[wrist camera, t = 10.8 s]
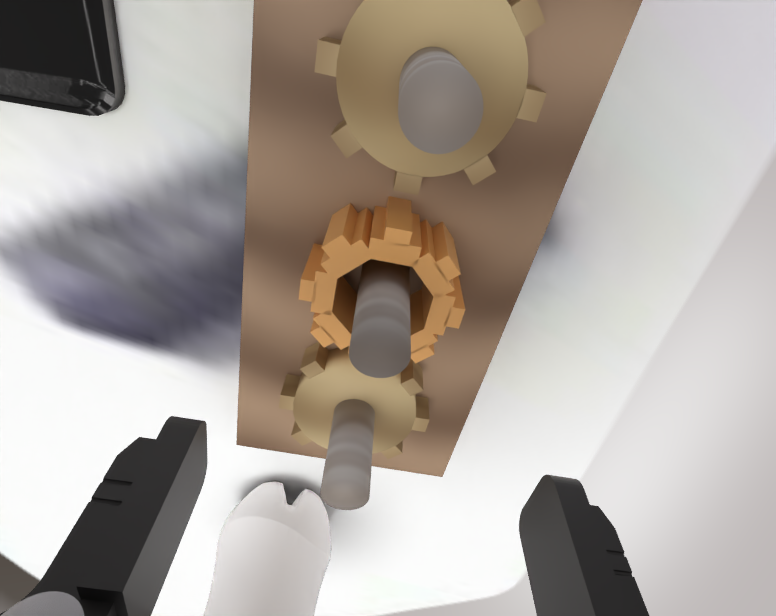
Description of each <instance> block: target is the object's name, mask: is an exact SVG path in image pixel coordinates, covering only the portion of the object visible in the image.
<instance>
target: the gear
mask: <svg viewBox="0 0 776 616" xmlns="http://www.w3.org/2000/svg"><path fill="white" fill-rule="evenodd" d="M370 259H374V260H379V261H385V262H390V263H395V264H400V265H406V266H411V267H413V269H414V270H415V271H416V273H417V274H418V276H419V277H420V278H421V280H422V281H423V286H422V289H421V290H419V291H417V292H415V293H413V294H411V295H410V330H411V359H412V360H413V361H414V362H415V364H416V363H418V362H420V361H422V360H424V359H426V358H428V357H430V356H432V355H434V343H435V342H437V341H438V336H437V335H442V336H443V334H444V331H445V328H446V327H452V328H457V329H459V326H460V324H461V321H462V318H463V315H464V312H465V305H464V300H463V295H462V290H461V285H460V280H459V275H460V274H461V273H460V268H459V263H458V258H457V253H456V249H455V244H454V239H453V237H452V236H451V234H450V233H449V231H448V229H447V228H446V226H445V225H444V223H443V222H441V223H439V224H437V225H435V226H434V227H431V226H430V224H429V223H428V221H427V220H426V219H425V220H423V221H422V222H420V217H419V214H414V213H412V210H411V200H406V199H401V198H396V197H391V196H389V197H388V202H387V207H386V208H384V207H379V206H375V209H374V214H373V215H372V213H371V212H370V210H369V209H368V208H367V207H366V208H365V209H363V210H362V211H360V212H359V213H358V212H357V211H356V210H355V208H354V207H353V206H352V204H351V203H350V204H348V205H347V206H345V207H343V208H342V209H340V210H339V211H337V212H336V213H334V214H333V215H332V217H331V220H330V223H329V227H328V230H327V233H326V236H325V239H324V242H323V245H320V244H313V247H312V250H311V253H310V255H309V258H308V261H307V263H306V266H305V269H304V272H303V274H302V277H301V281H300V290H299V299H298V300H304V301H309V302H312V303H311V311H310V312H315V313H314V316H313V319H314V320H313V323H312V327H311V331H310V333H311V334H312V335H313V336H314V337H315V338H316V339H317V340H318V342H319V343H320V344H321V345H322V346H323V347H326V346H328V345H330V344H332V343H335V344H336V345H337V346H338V347H339V348H340V350H342V349H343V348H345V347H347V346H349V347H350V340H351V334H352V327H353V321H354V315H355V308H356V302H357V293H356V292H355V291H354V290H353V288H352V287H351V286H350V285H349V283H348V282H347V281H346V280H345V279H344V277H343V275H344V274H346V273H348V272H350V271H351V270H353V269H355V268H356V267H358V266H360V265H361V264H363V263H365V262H366V261H368V260H370ZM348 354H349V349H348Z"/></svg>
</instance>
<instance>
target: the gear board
mask: <svg viewBox="0 0 776 616" xmlns="http://www.w3.org/2000/svg"><path fill="white" fill-rule="evenodd" d="M641 3H642V0H254V13H253V39H252V64H251V90H250V115H249V141H248V166H247V192H246V217H245V242H244V268H243V293H242V319H241V344H240V370H239V395H238V420H237V445H241V446H247V447H254V448H260V449H267V450H273V451H279V452H286V453H292V454H299V455H305V456H311V457H318V458H324V459H326V461H325V467H324V473H323V479H322V485H321V491H320V496H321V498H322V500H323V501H324V502H325V503H326V504H327V505H329V506H331V507H333V508H336V509H341V510H353V509H357V508H360V507H362V506H364V505H365V504H366V503H367V502H368V500H369V494H370V479H371V466H376V467H382V468H388V469H395V470H401V471H408V472H414V473H420V474H427V475H433V476H440V477H442V476H443V474H444V471H445V469H446V467H447V464H448V462H449V460H450V457H451V455H452V452H453V450H454V448H455V445H456V443H457V441H458V438H459V436H460V433H461V431H462V429H463V426H464V424H465V421H466V419H467V417H468V414H469V412H470V410H471V407H472V405H473V402H474V400H475V398H476V395H477V393H478V391H479V388H480V386H481V383H482V381H483V379H484V376H485V374H486V372H487V369H488V367H489V364H490V362H491V360H492V357H493V355H494V352H495V350H496V348H497V345H498V343H499V341H500V338H501V336H502V333H503V331H504V329H505V326H506V324H507V322H508V319H509V317H510V314H511V312H512V310H513V307H514V305H515V302H516V300H517V298H518V295H519V293H520V291H521V288H522V286H523V283H524V281H525V279H526V276H527V274H528V272H529V269H530V267H531V264H532V262H533V260H534V257H535V255H536V253H537V250H538V248H539V245H540V243H541V241H542V238H543V236H544V233H545V231H546V229H547V226H548V224H549V222H550V219H551V217H552V214H553V212H554V210H555V207H556V205H557V203H558V200H559V198H560V195H561V193H562V191H563V188H564V186H565V184H566V181H567V179H568V176H569V174H570V172H571V169H572V167H573V164H574V162H575V160H576V157H577V155H578V153H579V150H580V148H581V145H582V143H583V141H584V138H585V136H586V134H587V131H588V129H589V126H590V124H591V122H592V119H593V117H594V115H595V112H596V110H597V107H598V105H599V103H600V100H601V98H602V95H603V93H604V91H605V88H606V86H607V84H608V81H609V79H610V76H611V74H612V72H613V69H614V67H615V65H616V62H617V60H618V57H619V55H620V53H621V50H622V48H623V45H624V43H625V41H626V38H627V36H628V34H629V31H630V29H631V26H632V24H633V22H634V19H635V17H636V15H637V12H638V10H639V7H640V5H641ZM389 196H391V197H396V198H401V199H406V200H411V210H412V213H414V214H419V217H420V222H422V221H423V220H425V219H426V220H427V221H428V223H429V224H430V226H431V227H434V226H435V225H437V224H439V223H441V222H443V223H444V225H445V226H446V228H447V229H448V231H449V233H450V234H451V236H452V237H453V239H454V244H455V249H456V253H457V258H458V263H459V268H460V273H461V274H460V275H459V280H460V285H461V290H462V295H463V300H464V305H465V312H464V315H463V318H462V321H461V324H460V326H459V329H457V328H452V327H446V328H445V331H444V334H443V336H442V335H437V336H438V341H437V342H435V343H434V355H432V356H430V357H428V358H426V359H424V360H422V361H420V362H418V363H416V364H415V362H414V361H413V360H412V359H411V330H410V295H411V294H413V293H415V292H417V291H419V290H421V289H422V286H423V281H422V280H421V278H420V277H419V276H418V274H417V273H416V271H415V270H414V269H413V267H411V266H406V265H400V264H395V263H390V262H385V261H379V260H374V259H370V260H368V261H366V262H365V263H363V264H361V265H360V266H358V267H356V268H355V269H353V270H351V271H350V272H348V273H346V274H344V275H343V277H344V279H345V280H346V281H347V282H348V283H349V285H350V286H351V287H352V288H353V290H354V291H355V292H356V293H357V302H356V308H355V315H354V321H353V327H352V334H351V340H350V347H349V346H347V347H345V348H343V349H342V350H340V348H339V347H338V346H337V345H336V344H335V343H332V344H330V345H328V346H326V347H323V346H322V345H321V344H320V343H319V342H318V340H317V339H316V338H315V337H314V336H313V335H312V334H311V333H310V331H311V327H312V323H313V320H314V319H313V316H314V313H315V312H310V311H311V303H312V302H309V301H304V300H298V299H299V290H300V281H301V277H302V274H303V272H304V269H305V266H306V263H307V261H308V258H309V255H310V253H311V250H312V247H313V244H320V245H323V242H324V239H325V236H326V233H327V230H328V227H329V223H330V220H331V217H332V215H333V214H334V213H336V212H337V211H339V210H340V209H342V208H343V207H345V206H347V205H348V204H350V203H351V204H352V206H353V207H354V208H355V210H356V211H357V212H358V213H359V212H360V211H362V210H363V209H365V208H366V207H367V208H368V209H369V210H370V212H371V213H372V215H373V214H374V209H375V206H379V207H384V208H386V207H387V202H388V197H389ZM348 349H349V354H348Z"/></svg>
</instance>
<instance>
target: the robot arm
mask: <svg viewBox="0 0 776 616" xmlns="http://www.w3.org/2000/svg"><path fill="white" fill-rule="evenodd" d="M206 469H207V430H206V422H205V421H200V420H194V419H187V418H181V417H174V416H171V417H169V418H168V420H167V421H166V422H165V424H164V426H163V428H162V430H161V431H160V433H159V435H158V437H157V439H149V438H142V437H139V438H138V439H136V440H135V441H134V442H133V443H132V444H130V445H129V446H128V447H127V448H126V449H124V450H123V451H122V452H121V453H120V454H118V455H117V457H116V458H115V460H114V462H113V463H112V465H111V467H110V468H109V470H108V472H107V473H106V475H105V476H104V479H103V482H102V483H100V485H99V486H98V488H97V490H96V491H95V493H94V495H93V496H92V500H91V502H89V503H88V504H87V506H86V508H85V509H84V511H83V513H82V514H81V516H80V518H79V519H78V521H77V522H76V524H75V526H74V527H73V529H72V531H71V532H70V534H69V536H68V537H67V539H66V540H65V542H64V544H63V545H62V547H61V549H60V550H59V552H58V554H57V555H56V557H55V559H54V560H53V562H52V563H51V565H50V567H49V568H48V570H47V572H46V573H45V575H44V576H43V578H42V579H41V581H40V582H39V583H38V584H37V586H36V587H35V588H34V589H33V590H32V591H31V592H30V593H29V594H28V595H27V596H26V597H25V598H24V599H22V600H21V601H20V602H18V603H17V604H15V605H14V606H12V607H11V608H10V609H8V610H6V611H5V612H3V613H1V614H0V616H151V614H152V611H153V609H154V606H155V604H156V601H157V599H158V596H159V594H160V591H161V589H162V586H163V584H164V581H165V579H166V576H167V574H168V571H169V569H170V566H171V564H172V561H173V559H174V556H175V554H176V551H177V549H178V546H179V544H180V541H181V539H182V536H183V534H184V531H185V529H186V526H187V524H188V521H189V519H190V516H191V514H192V511H193V509H194V506H195V504H196V501H197V499H198V496H199V494H200V491H201V489H202V486H203V482H204V479H205V475H206ZM519 532H520V538H521V543H522V548H523V552H524V557H525V562H526V566H527V571H528V576H529V580H530V585H531V590H532V594H533V599H534V604H535V608H536V613H537V616H649V614H648V611H647V609H646V606H645V604H644V601H643V599H642V596H641V593H640V591H639V588H638V586H637V583H636V581H635V578H634V577H632V571H631V568H630V566H629V563H628V560H627V558H626V557H624V550H623V548H622V545H621V543H620V540H619V538H618V535H617V532H616V530H615V528H614V526H613V525H612V524H611V522H610V521H609V520H608V518H607V517H606V516H605V514H604V513H603V512H602V510H601V509H600V508H599V507H598V506H593V505H590V504H589V502H588V499H587V496H586V493H585V491H584V488H583V486H582V484H581V483H580V481H578V480H577V479H572V478H565V477H559V476H552V475H544V476H543V477H542V479H541V480H540V482H539V483H538V485H537V486H536V488H535V490H534V491H533V493H532V495H531V496H530V498H529V499H528V501H527V503H526V504H525V506H524V507H523V509H522V512H521V515H520V521H519Z"/></svg>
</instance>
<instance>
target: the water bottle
mask: <svg viewBox="0 0 776 616" xmlns="http://www.w3.org/2000/svg"><path fill="white" fill-rule="evenodd" d="M330 555H331V534H330V525H329V519H328V515H327V511H326V509H325V506H324V504H323V502H322V500H321V498H320V497H319V496H318V495H317V494H316V493H314V492H313V491H311V490H307V489H305V490H303V491H302V492H301V493H300V494H299V496H298V497H297V498H296V500H295V501H294V502H293V504H292V505H288V504H287V501H286V495H285V491H284V487H283V483H279V482H276V481H274V482H267V483H263V484H261V485H260V486H258V487H256V488H255V489H253V490H252V491H251V492H250V493H249V494H248V495H247V496H246V497H245V498H244V499H243V500H242V501H241V502H239V504H238V505H237V506H236V507H235V508H234V509H233V510H232V512H231V513H230V514H229V515H228V517H227V519H226V520H225V523H224V525H223V528H222V530H221V533H220V536H219V539H218V543H217V552H216V561H215V568H214V574H213V580H212V584H211V589H210V593H209V598H208V601H207V605H206V608H205V612H204V615H203V616H314V613H315V607H316V603H317V599H318V595H319V591H320V588H321V584H322V581H323V578H324V575H325V572H326V569H327V566H328V564H329V561H330Z"/></svg>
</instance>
